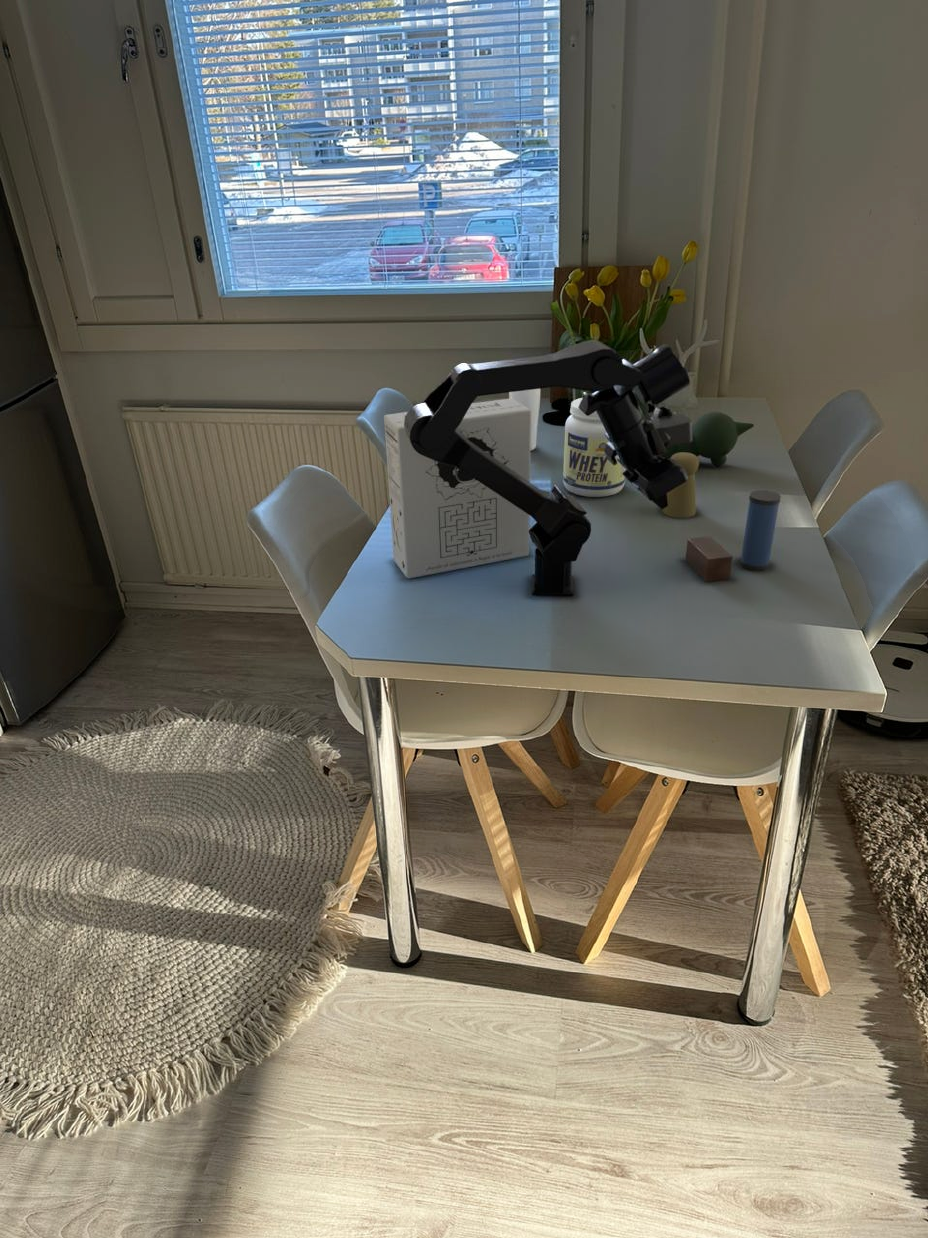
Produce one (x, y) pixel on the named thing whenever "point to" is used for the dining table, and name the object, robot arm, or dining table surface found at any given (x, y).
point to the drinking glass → (531, 402)
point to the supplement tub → (589, 457)
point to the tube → (759, 529)
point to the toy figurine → (707, 436)
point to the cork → (683, 489)
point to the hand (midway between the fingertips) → (664, 506)
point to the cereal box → (457, 495)
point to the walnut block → (708, 559)
